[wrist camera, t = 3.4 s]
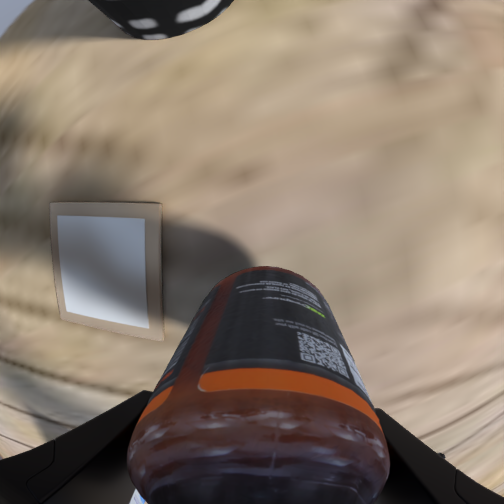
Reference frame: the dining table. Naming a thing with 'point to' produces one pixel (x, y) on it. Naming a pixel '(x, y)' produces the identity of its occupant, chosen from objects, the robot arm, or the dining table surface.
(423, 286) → the dining table surface
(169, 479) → the supplement bottle
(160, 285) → the coaster
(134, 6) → the spotted tube
